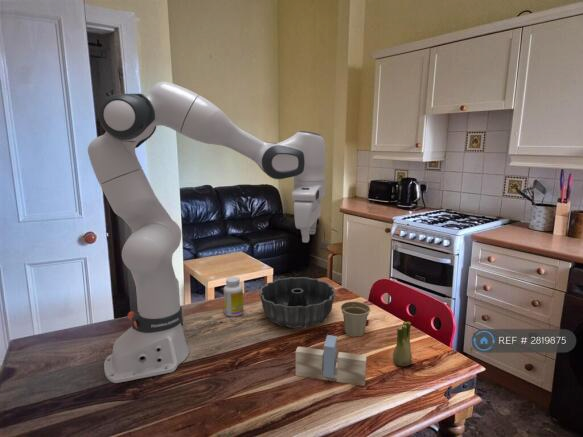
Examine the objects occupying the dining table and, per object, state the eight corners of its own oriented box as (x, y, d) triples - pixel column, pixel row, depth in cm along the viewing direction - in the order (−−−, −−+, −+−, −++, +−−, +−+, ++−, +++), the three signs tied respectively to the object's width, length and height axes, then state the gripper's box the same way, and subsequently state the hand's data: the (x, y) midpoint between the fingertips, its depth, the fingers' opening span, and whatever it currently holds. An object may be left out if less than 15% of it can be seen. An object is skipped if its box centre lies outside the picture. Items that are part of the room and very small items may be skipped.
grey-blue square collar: (333, 377, 95) (334, 347, 93) (323, 376, 96) (323, 346, 94) (336, 365, 100) (337, 336, 99) (326, 363, 101) (327, 334, 99)
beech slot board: (365, 380, 98) (366, 355, 96) (364, 386, 95) (365, 361, 94) (297, 369, 102) (297, 346, 100) (295, 375, 99) (295, 351, 98)
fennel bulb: (396, 370, 102) (399, 329, 99) (387, 359, 106) (389, 320, 104) (415, 366, 103) (418, 326, 101) (405, 356, 108) (408, 318, 106)
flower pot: (369, 341, 116) (370, 315, 114) (338, 338, 118) (339, 312, 116) (369, 326, 125) (370, 302, 123) (341, 324, 127) (341, 300, 125)
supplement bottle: (246, 311, 137) (246, 277, 134) (236, 318, 131) (235, 283, 128) (231, 307, 140) (230, 274, 137) (220, 315, 134) (219, 280, 131)
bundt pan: (249, 331, 123) (248, 302, 121) (271, 298, 148) (270, 274, 146) (330, 340, 117) (330, 310, 115) (338, 304, 142) (339, 279, 140)
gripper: (306, 185, 117) (305, 228, 120) (290, 194, 98) (290, 246, 100) (326, 186, 116) (325, 230, 118) (314, 195, 96) (313, 247, 99)
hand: (309, 237), depth 109 cm, fingers open, 8 cm apart
